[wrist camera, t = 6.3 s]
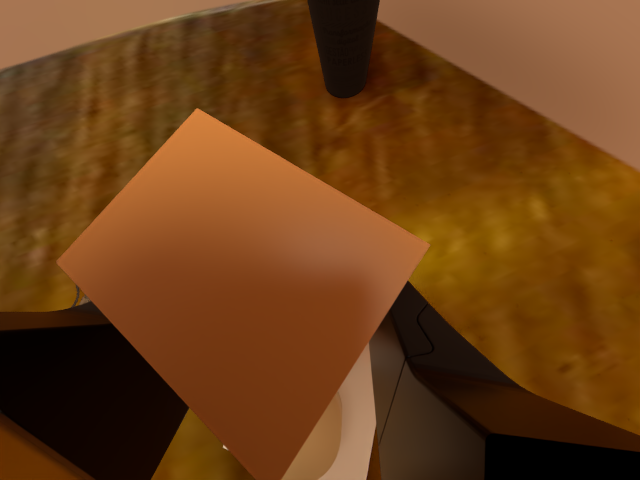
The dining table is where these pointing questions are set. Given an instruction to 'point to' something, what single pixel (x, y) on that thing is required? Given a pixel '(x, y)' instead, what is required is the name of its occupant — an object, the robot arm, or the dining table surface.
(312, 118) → the dining table surface
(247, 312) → the orange square-topped peg
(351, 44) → the drinking cup
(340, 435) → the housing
